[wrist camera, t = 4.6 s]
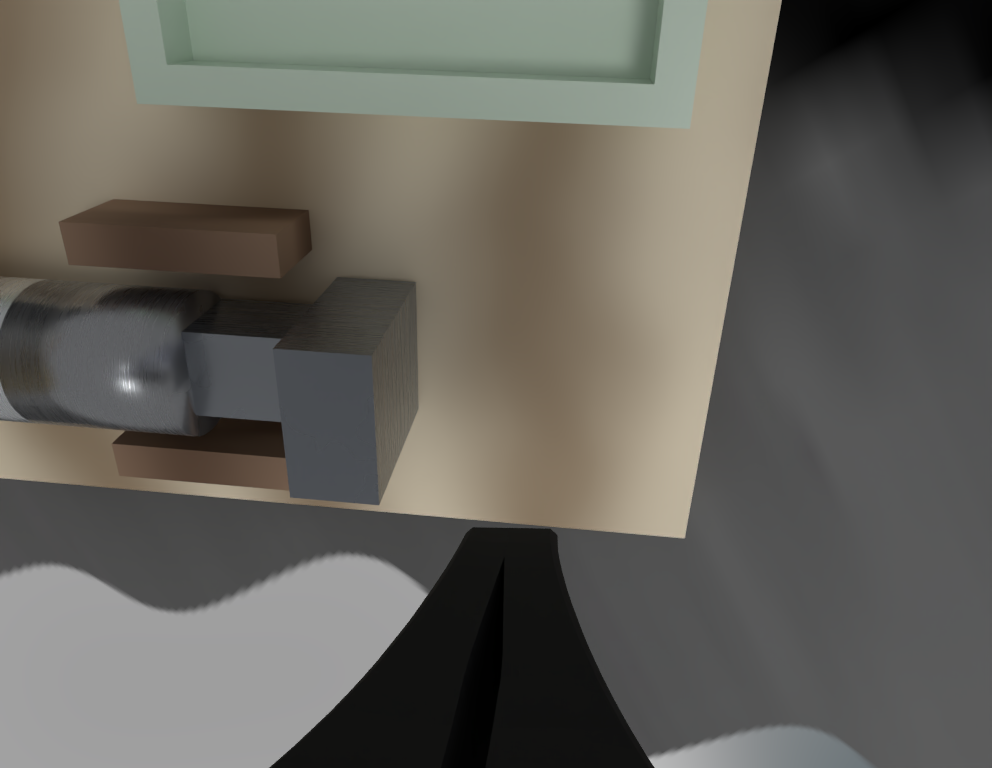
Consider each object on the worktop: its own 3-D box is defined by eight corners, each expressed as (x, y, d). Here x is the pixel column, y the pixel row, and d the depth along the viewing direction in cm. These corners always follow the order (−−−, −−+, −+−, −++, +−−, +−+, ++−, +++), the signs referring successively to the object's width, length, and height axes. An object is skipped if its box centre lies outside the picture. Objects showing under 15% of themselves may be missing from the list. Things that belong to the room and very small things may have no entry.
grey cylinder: (223, 267, 19) (152, 329, 16) (244, 389, 21) (184, 465, 18) (-35, 251, 20) (-151, 307, 17) (7, 371, 21) (-91, 442, 18)
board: (839, -395, 13) (858, -424, 12) (680, 516, 22) (684, 538, 22) (-244, -386, 15) (-296, -409, 14) (17, 459, 24) (-5, 477, 23)
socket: (308, 210, 18) (275, 234, 16) (328, 447, 21) (303, 492, 19) (113, 199, 19) (58, 221, 17) (160, 433, 22) (119, 476, 20)
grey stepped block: (415, 281, 19) (371, 355, 15) (418, 408, 20) (379, 505, 16) (221, 269, 19) (128, 338, 15) (239, 395, 21) (159, 486, 17)
